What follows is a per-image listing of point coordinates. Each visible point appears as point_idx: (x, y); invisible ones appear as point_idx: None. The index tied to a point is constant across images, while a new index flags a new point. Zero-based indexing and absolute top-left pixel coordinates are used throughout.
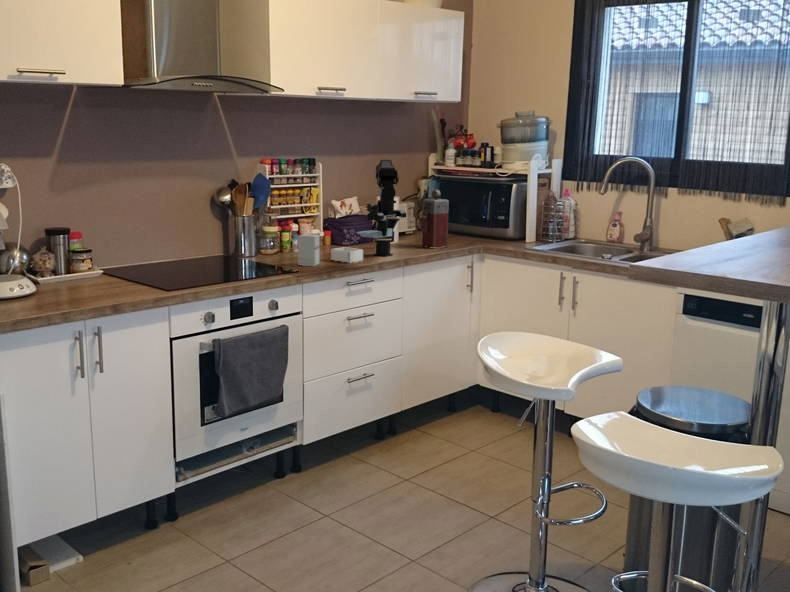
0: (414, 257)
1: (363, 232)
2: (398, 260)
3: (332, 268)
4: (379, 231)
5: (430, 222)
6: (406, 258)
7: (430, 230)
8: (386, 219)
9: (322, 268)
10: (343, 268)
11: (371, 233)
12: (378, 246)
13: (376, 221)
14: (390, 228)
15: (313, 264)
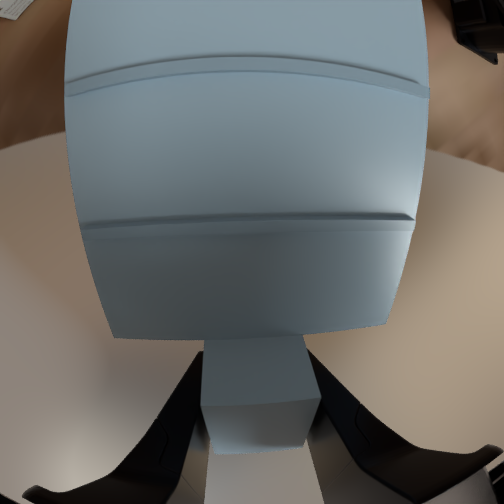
0: (501, 161)
1: (68, 90)
2: (434, 144)
3: (24, 90)
4: (413, 147)
5: None
6: (479, 146)
7: None
8: (387, 499)
9: (4, 72)
10: (51, 115)
11: (115, 233)
12: (479, 10)
13: (78, 488)
14: (269, 451)
15: (9, 18)
